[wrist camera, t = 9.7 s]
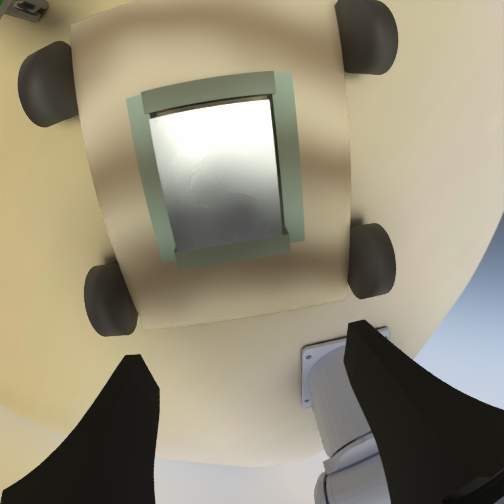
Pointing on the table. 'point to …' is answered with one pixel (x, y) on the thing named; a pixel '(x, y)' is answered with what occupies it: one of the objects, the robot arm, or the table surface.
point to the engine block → (218, 174)
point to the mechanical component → (33, 0)
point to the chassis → (208, 95)
